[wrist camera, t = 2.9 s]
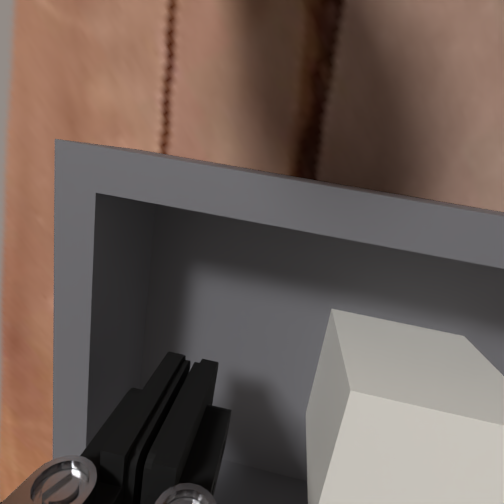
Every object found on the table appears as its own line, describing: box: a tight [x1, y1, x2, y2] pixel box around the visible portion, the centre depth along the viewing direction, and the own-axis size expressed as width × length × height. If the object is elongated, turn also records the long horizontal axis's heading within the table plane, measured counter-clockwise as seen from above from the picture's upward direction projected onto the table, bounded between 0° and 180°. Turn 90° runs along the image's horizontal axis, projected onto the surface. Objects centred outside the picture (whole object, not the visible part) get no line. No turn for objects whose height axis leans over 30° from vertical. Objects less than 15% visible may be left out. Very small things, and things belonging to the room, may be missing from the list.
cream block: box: [306, 309, 504, 504], centre depth 11 cm, size 5×5×5 cm
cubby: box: [53, 139, 504, 504], centre depth 12 cm, size 25×14×4 cm, turn 81°
